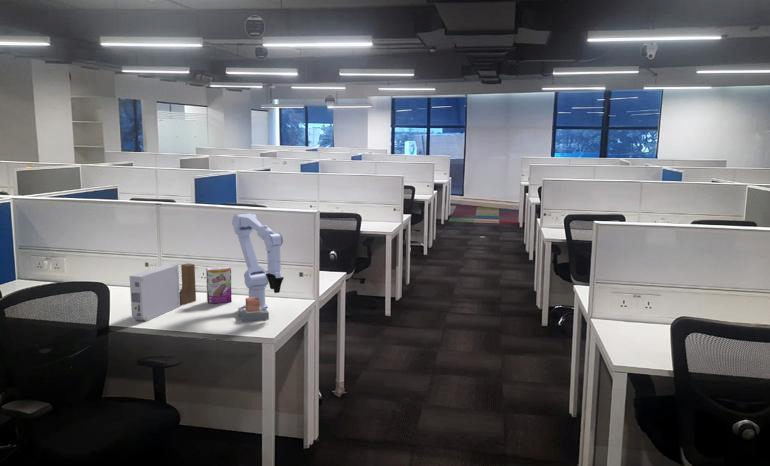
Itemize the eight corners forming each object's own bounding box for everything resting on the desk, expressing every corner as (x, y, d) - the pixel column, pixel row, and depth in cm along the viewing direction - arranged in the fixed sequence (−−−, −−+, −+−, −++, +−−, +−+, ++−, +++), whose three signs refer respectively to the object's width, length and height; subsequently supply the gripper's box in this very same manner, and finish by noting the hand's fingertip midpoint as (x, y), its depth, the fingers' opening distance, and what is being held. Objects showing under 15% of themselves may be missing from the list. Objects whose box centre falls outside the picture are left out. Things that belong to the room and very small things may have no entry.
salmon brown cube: (245, 309, 265) (245, 298, 264) (257, 307, 267) (256, 296, 266) (248, 312, 261) (247, 300, 260) (259, 310, 263) (259, 299, 262)
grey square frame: (238, 315, 267) (238, 308, 267) (263, 312, 272) (263, 305, 271) (243, 321, 257) (242, 314, 257) (268, 319, 262) (268, 311, 261)
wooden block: (181, 305, 282) (179, 267, 280) (174, 303, 285) (172, 266, 282) (196, 301, 290) (194, 264, 287) (190, 299, 292) (188, 263, 290)
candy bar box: (207, 304, 284) (206, 270, 282) (206, 301, 289) (205, 268, 287) (232, 302, 288) (231, 268, 286) (230, 299, 293) (229, 266, 291)
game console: (182, 306, 281) (180, 264, 278) (143, 323, 255) (141, 276, 252) (171, 305, 282) (169, 263, 279) (132, 321, 257) (129, 275, 254)
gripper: (261, 258, 272) (262, 288, 274) (268, 264, 258) (269, 295, 260) (277, 257, 274) (277, 286, 276) (284, 263, 261) (285, 293, 263)
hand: (274, 290), depth 269 cm, fingers open, 7 cm apart
